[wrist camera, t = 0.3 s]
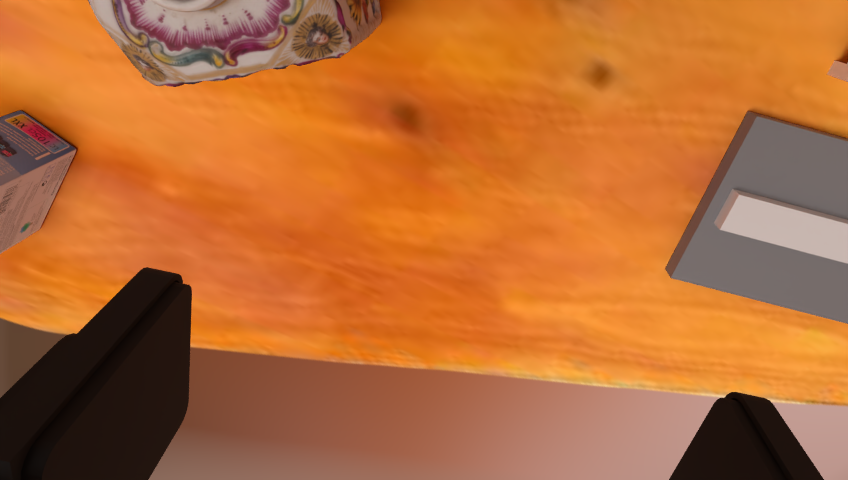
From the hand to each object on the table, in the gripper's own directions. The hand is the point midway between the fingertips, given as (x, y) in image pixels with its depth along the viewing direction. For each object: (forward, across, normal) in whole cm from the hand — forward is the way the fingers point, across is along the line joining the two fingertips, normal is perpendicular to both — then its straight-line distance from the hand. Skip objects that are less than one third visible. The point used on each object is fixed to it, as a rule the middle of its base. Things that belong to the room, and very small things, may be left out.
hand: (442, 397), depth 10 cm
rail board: (+36, -33, +7) cm, 49 cm away
